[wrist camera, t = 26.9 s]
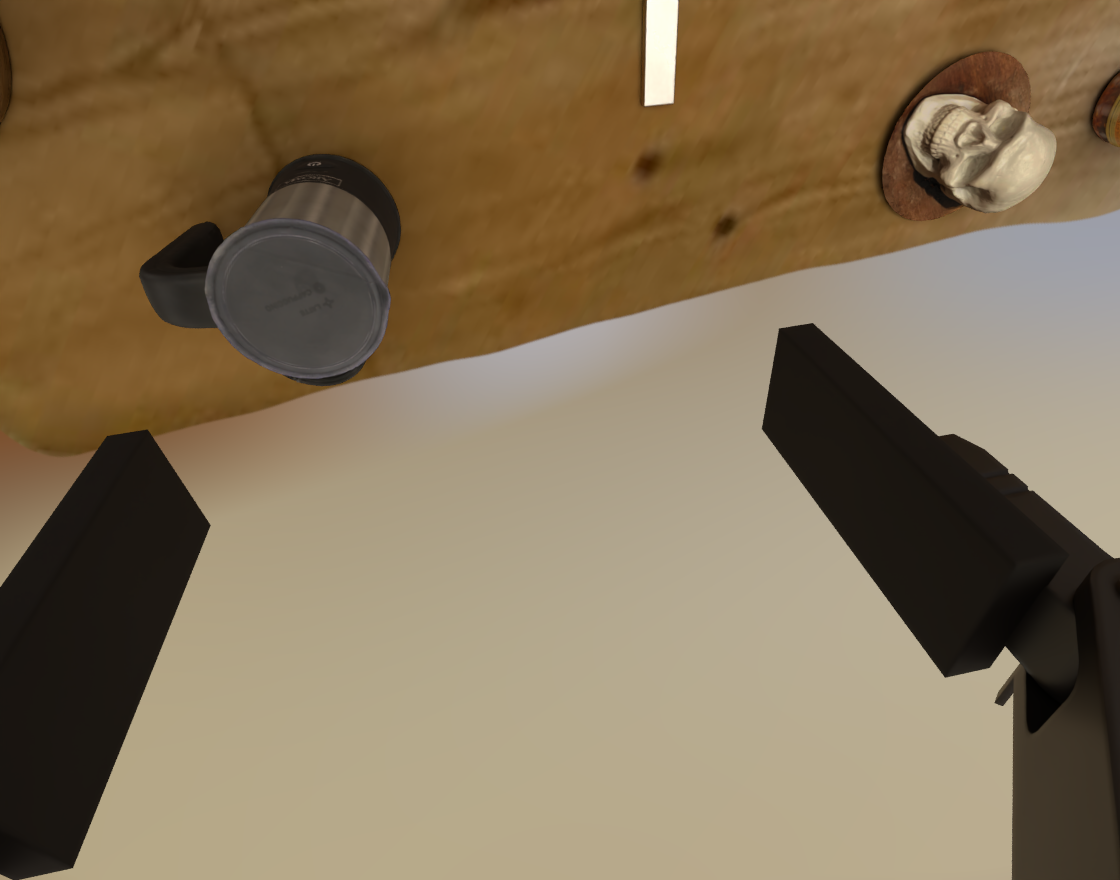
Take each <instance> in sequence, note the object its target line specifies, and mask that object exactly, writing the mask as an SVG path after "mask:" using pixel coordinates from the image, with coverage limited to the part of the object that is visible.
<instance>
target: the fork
mask: <svg viewBox="0 0 1120 880" xmlns="http://www.w3.org/2000/svg"><path fill="white" fill-rule="evenodd" d="M678 12H679V0H643V32H642V86H641V105H642V106H644V107H648V106H658V105H668V104H674V94H675V73H676V53H677V32H678Z"/></svg>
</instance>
